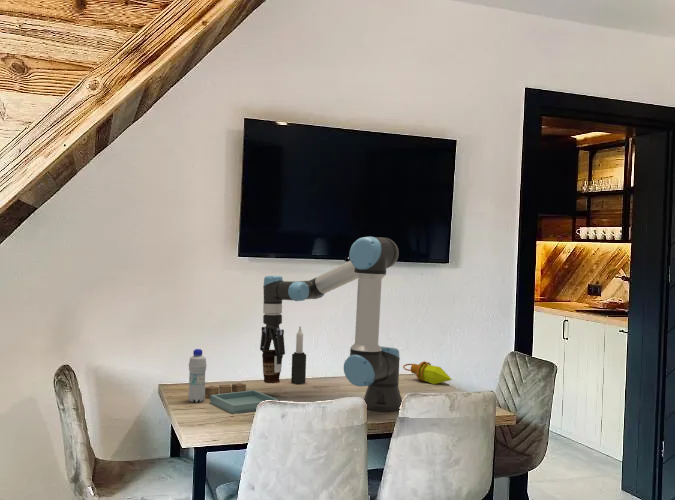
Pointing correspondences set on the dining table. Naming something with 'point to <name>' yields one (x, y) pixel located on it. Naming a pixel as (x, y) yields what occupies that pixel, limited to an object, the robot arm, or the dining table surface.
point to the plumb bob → (428, 373)
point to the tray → (239, 401)
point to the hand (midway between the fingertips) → (272, 370)
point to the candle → (298, 361)
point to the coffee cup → (270, 367)
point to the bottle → (197, 376)
